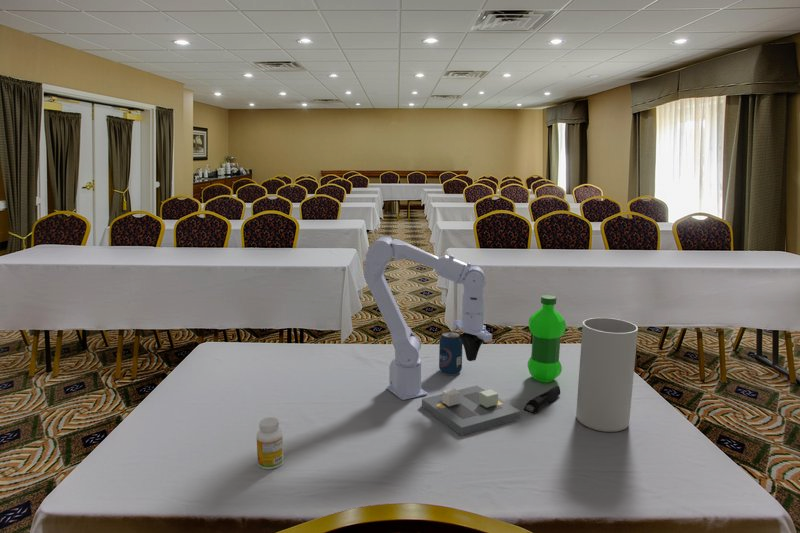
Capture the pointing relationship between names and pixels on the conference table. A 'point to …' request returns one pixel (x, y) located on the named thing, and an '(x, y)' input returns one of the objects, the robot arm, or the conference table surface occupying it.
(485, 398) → the tab sage
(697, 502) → the conference table surface
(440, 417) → the switch panel
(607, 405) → the cylinder vase
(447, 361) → the soda can
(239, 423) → the conference table surface
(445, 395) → the light grey block
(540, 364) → the plastic bottle
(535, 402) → the electric trimmer
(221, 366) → the conference table surface
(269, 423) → the supplement bottle
